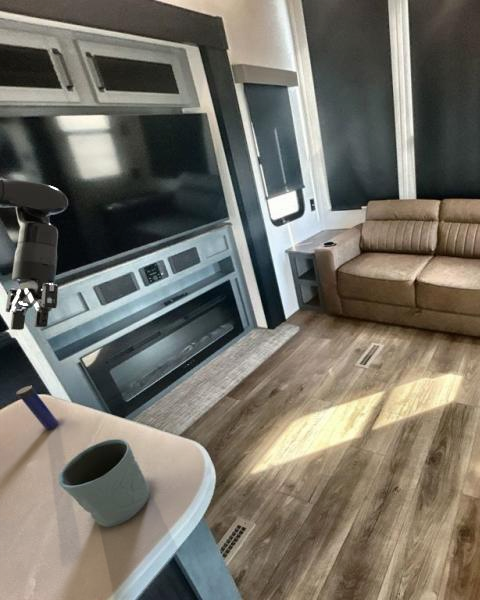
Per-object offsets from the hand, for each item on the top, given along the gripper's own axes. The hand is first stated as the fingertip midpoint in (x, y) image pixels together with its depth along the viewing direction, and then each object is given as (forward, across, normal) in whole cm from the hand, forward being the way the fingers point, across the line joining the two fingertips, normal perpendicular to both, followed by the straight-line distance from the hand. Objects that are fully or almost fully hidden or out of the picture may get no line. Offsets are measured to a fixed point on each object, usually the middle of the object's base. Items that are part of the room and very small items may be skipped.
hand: (28, 328), depth 88 cm
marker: (+24, 0, +7) cm, 25 cm away
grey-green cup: (+37, +38, -2) cm, 53 cm away
